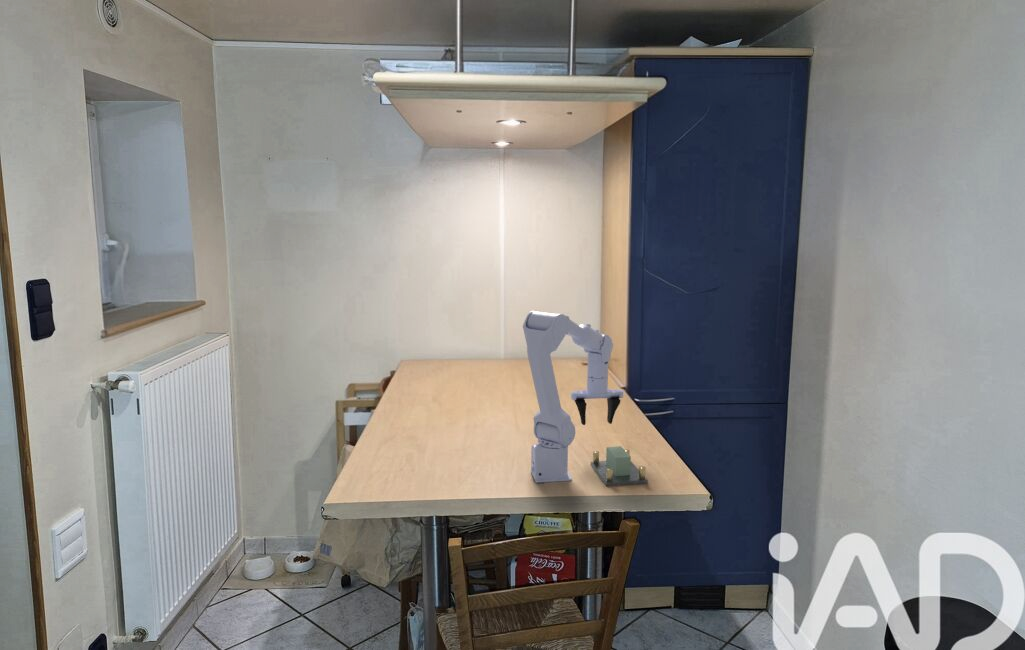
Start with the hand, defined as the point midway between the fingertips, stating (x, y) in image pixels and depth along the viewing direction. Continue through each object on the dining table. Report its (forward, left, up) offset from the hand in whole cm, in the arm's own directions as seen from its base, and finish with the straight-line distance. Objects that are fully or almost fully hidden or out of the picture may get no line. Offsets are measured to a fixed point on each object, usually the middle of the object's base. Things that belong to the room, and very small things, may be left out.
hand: (596, 423), depth 196 cm
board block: (+2, -14, -8) cm, 17 cm away
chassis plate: (+2, -14, -9) cm, 17 cm away
